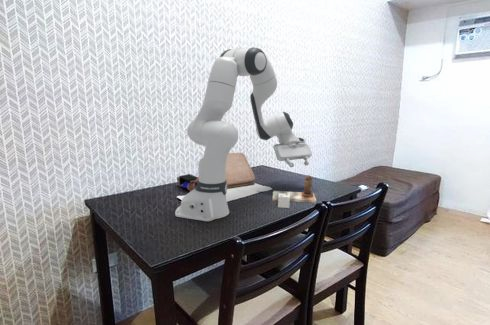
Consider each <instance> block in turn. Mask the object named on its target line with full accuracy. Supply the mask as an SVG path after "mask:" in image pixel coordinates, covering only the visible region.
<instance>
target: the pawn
mask: <svg viewBox="0 0 490 325" xmlns="http://www.w3.org/2000/svg"><path fill="white" fill-rule="evenodd" d="M312 189H313V178H312V175H306V176H305V178H304V184H303V192H302V196H303V197H308V198H310V197H313V193H314V192H312Z"/></svg>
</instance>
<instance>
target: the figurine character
mask: <svg viewBox="0 0 490 325" xmlns="http://www.w3.org/2000/svg"><path fill="white" fill-rule="evenodd" d="M197 178H199V176H196V175H193V174H190V173H188V174H183V175H179V176H178V177H176V181H177V183H178V184H179V186H180V187H181V188H187V190H189V192H190V191H192V190H193V189H194V187H193V184H194V182H195V180H196V179H197Z"/></svg>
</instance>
